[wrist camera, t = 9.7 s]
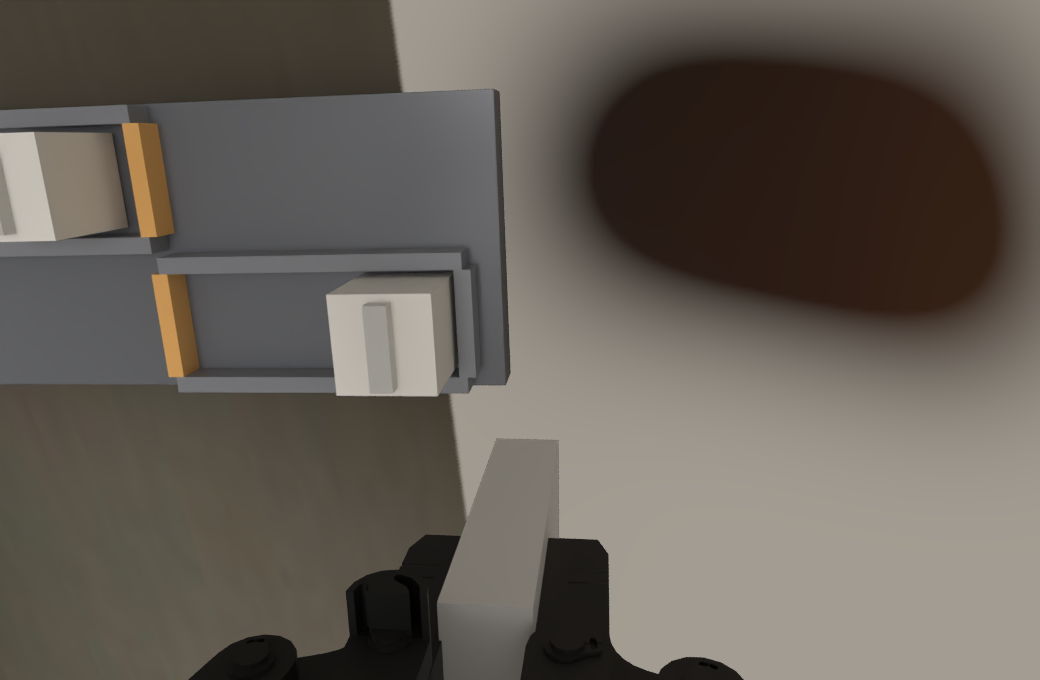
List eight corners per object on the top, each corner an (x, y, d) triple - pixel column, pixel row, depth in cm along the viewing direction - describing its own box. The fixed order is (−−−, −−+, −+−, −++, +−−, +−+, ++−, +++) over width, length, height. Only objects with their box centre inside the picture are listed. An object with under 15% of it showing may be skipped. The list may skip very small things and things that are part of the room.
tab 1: (25, 136, 35) (-80, 135, 30) (111, 132, 35) (20, 131, 29) (44, 229, 36) (-53, 244, 31) (128, 227, 36) (43, 243, 30)
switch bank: (-124, 118, 38) (-194, 116, 35) (499, 91, 34) (488, 86, 31) (-59, 372, 42) (-116, 393, 38) (510, 372, 38) (501, 395, 35)
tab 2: (363, 273, 35) (319, 298, 30) (454, 272, 35) (426, 296, 29) (371, 362, 36) (330, 401, 31) (459, 361, 36) (434, 401, 31)
